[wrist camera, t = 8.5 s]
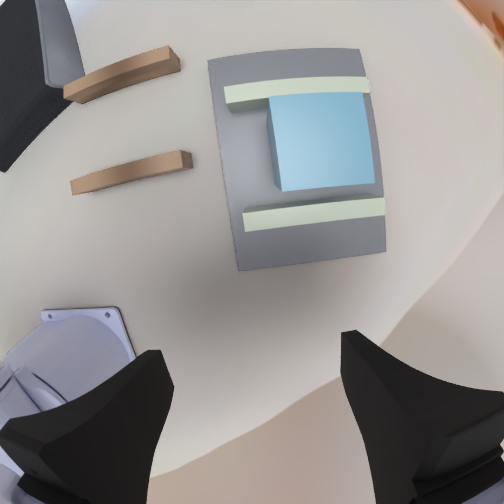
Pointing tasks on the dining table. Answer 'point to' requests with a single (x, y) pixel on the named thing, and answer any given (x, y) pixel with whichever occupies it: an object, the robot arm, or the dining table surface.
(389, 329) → the dining table surface
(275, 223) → the dock
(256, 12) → the dining table surface
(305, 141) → the blue rectangular block
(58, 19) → the external hard drive
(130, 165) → the cradle
